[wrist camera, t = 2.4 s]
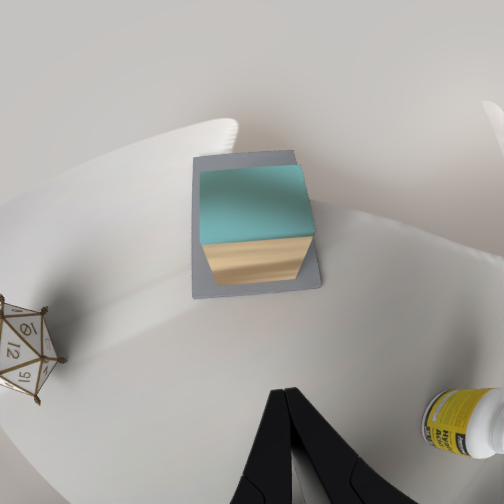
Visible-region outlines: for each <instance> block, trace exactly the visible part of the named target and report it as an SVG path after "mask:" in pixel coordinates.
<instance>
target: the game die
mask: <svg viewBox="0 0 504 504" xmlns="http://www.w3.org/2000/svg"><path fill="white" fill-rule="evenodd" d="M4 300H5V299H4V297H3V296H2V295H1V294H0V302H1V305H0V385H2V386H5V387H8V388H10V389H13V390H16V391H19V392H22V393H25V394H28V395H31V396H34V400H35V403H37V404H38V405H39V406H40V401H41V400H40V399H39V398H38V396H37V394H38V392H39V391H40V389H41V387H42V386H43V384H44V382H45V381H46V379H47V378H48V376H49V374H50V373H51V371H52V370H53V368H54V367H55V365H56V363H57V362H58V361H59V362H60V363H64V362H67V361H66V360H65V359H64V358H61V357H60V358H58V356H57V354H56V351H55V348H54V346H53V343H52V340H51V338H50V335H49V332H48V329H47V326H46V323H45V320H44V316H43V315H44V314H46V313H47V312H48V306H47V307H43V309H41V310H42V311H41V312H40V313H39V312H36V311H32V310H28V309H24V308H21V307H17V306H13V305H10V304H7V303H4Z"/></svg>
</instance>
